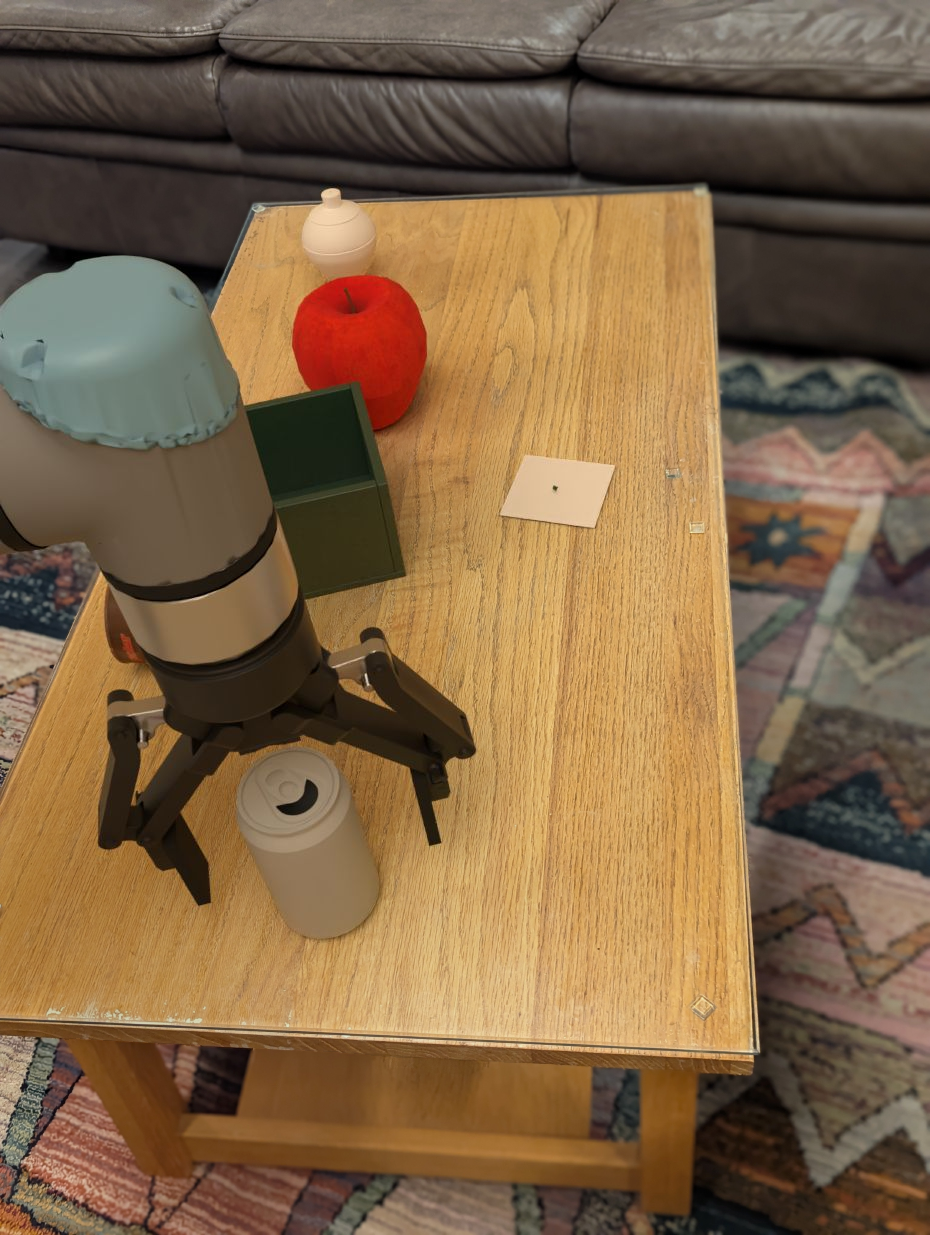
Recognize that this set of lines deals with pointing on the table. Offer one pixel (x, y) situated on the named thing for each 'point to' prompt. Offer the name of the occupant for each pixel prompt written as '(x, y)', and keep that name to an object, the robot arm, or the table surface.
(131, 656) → the tin
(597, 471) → the coaster
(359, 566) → the waste bin
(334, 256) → the spinning top
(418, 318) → the apple
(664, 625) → the table surface
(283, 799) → the beverage can
